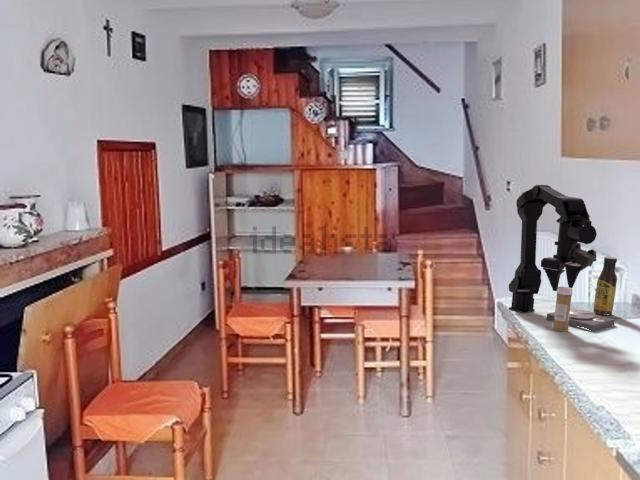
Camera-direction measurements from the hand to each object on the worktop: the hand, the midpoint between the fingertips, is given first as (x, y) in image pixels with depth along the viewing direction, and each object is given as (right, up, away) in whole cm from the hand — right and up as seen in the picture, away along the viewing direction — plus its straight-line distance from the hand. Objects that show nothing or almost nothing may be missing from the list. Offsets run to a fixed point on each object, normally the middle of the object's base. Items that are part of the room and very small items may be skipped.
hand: (562, 289), depth 216 cm
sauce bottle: (+23, -11, +26) cm, 36 cm away
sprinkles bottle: (0, -13, +2) cm, 13 cm away
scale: (+10, -12, +12) cm, 20 cm away
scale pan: (+9, -9, +14) cm, 19 cm away
